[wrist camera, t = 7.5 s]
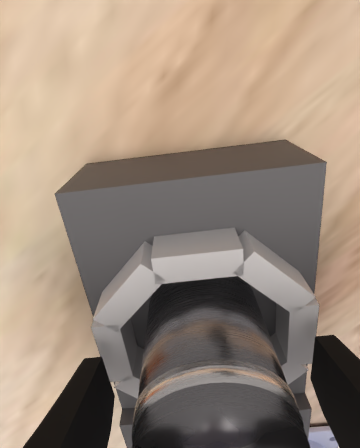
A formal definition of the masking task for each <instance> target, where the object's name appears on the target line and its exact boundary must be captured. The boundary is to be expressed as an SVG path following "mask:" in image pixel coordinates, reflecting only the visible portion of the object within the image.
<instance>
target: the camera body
mask: <svg viewBox="0 0 360 448" xmlns="http://www.w3.org/2000/svg"><path fill="white" fill-rule="evenodd" d="M326 163H327V162H325V161H324V160H322V159H320V158H318V157H316V156H314V155H313V154H311V153H309V152H307V151H305V150H303V149H302V148H300V147H298V146H296V145H294V144H292V143H291V142H289V141H287V140H281V141H273V142H264V143H256V144H248V145H239V146H231V147H223V148H214V149H206V150H198V151H190V152H181V153H173V154H165V155H156V156H148V157H140V158H132V159H123V160H115V161H107V162H98V163H90V164H86V165H85V166H84V167H83V168H82V169H81V170H80V171H79V172H77V173H76V174H75V175H74V176H73V177H72V178H71V179H70V180H69V181H68V182H67V183H66V184H65V185H64V186H63V187H62V188H60V189H59V190H58V191H57V192H56V193H55V197H56V200H57V203H58V206H59V209H60V212H61V216H62V219H63V222H64V225H65V228H66V232H67V235H68V238H69V241H70V244H71V247H72V251H73V254H74V257H75V260H76V263H77V266H78V270H79V273H80V276H81V279H82V282H83V286H84V289H85V292H86V295H87V298H88V301H89V305H90V308H91V311H92V314H93V323H92V326H91V329H92V332H93V335H94V338H95V341H96V344H97V347H98V350H99V353H100V356H101V357H102V359H103V362H104V365H105V368H106V371H107V374H108V377H109V380H110V382H114V384H115V387H114V388H116V390H117V394H118V397H119V400H120V403H121V406H122V414H121V420H120V428H121V431H122V434H123V437H124V440H125V443H126V446H127V448H132V426H133V418H134V410H135V406H136V402H137V400H138V392H139V384H140V376H141V367H142V359H143V351H144V342H145V334H146V326H147V317H148V309H149V303H150V298H151V296H152V294H153V293H154V292H155V291H156V290H157V289H158V288H159V286H160V285H161V284H165V283H175V282H185V281H194V280H204V279H214V278H223V277H233V276H238V277H240V278H241V279H243V280H244V281H245V282H247V283H248V284H249V285H250V287H251V288H252V290H253V292H254V294H255V297H256V300H257V302H258V305H259V308H260V311H261V313H262V316H263V319H264V322H265V324H266V327H267V330H268V332H269V335H270V338H271V341H272V343H273V346H274V349H275V352H276V354H277V357H278V360H279V362H280V365H281V368H282V371H283V373H284V376H285V379H286V382H287V384H288V386H289V388H290V389H291V391H292V393H293V395H294V398H295V401H296V403H297V406H298V409H299V411H300V414H301V417H302V420H303V424H304V431H305V433H306V436H307V439H308V436H309V427H310V418H311V407H310V404H309V402H308V399H307V397H306V394H305V385H306V375H307V371H308V368H307V364H312V361H313V351H314V341H315V337H316V331H317V322H318V312H319V303H318V302H317V300H316V299H315V295H314V290H315V280H316V269H317V258H318V248H319V237H320V227H321V216H322V205H323V195H324V184H325V174H326Z"/></svg>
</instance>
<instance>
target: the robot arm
mask: <svg viewBox="0 0 360 448" xmlns="http://www.w3.org/2000/svg"><path fill="white" fill-rule="evenodd" d="M311 381H312V384H313V387H314V390H315V392H316V395H317V398H318V401H319V404H320V406H321V409H322V412H323V414H324V416H325V418H326V420H327V422H328V424H329V426H320V427H309V436H308V441H309V444H310V448H338V445H339V447H340V448H360V359H359V358H358V357H357V356H356V355H355V354H353V353H352V352H351V351H350V350H349V349H348V348H347V347H346V346H345V345H344V344H343V343H342V342H341V341H340V340H339V339H338V338H337V337H336V336H334V335H328V336H317V337H315V341H314V351H313V361H312V370H311ZM114 397H115V396H114V393H113V390H112V386H111V383H110V380H109V377H108V374H107V371H106V368H105V365H104V362H103V359H102V357H96V358H85V359H84V360H83V361H82V362H81V364H80V365H79V367H78V368H77V370H76V372H75V373H74V375H73V376H72V378H71V379H70V381H69V382H68V384H67V385H66V387H65V388H64V390H63V391H62V393H61V394H60V396H59V397H58V399H57V400H56V402H55V403H54V405H53V406H52V408H51V409H50V411H49V412H48V413H47V415H46V416H45V418H44V419H43V421H42V422H41V423H40V425H39V426H38V428H37V429H36V430H35V432H34V433H33V434H32V436H31V437H30V438H29V440H28V441H27V442H26V444H25V445H24V446H23V448H107V446H108V441H109V436H110V431H111V424H112V416H113V407H114Z"/></svg>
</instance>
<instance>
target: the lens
mask: <svg viewBox="0 0 360 448" xmlns="http://www.w3.org/2000/svg"><path fill="white" fill-rule="evenodd" d="M132 448H310V444H309V441H308V439H307V436H306V433H305V431H304V424H303V420H302V417H301V414H300V411H299V409H298V406H297V403H296V401H295V398H294V395H293V393H292V391H291V389H290V388H289V386H288V384H287V382H286V379H285V376H284V373H283V371H282V368H281V365H280V362H279V360H278V357H277V354H276V352H275V349H274V346H273V343H272V341H271V338H270V335H269V332H268V330H267V327H266V324H265V322H264V319H263V316H262V313H261V311H260V308H259V305H258V302H257V300H256V297H255V294H254V292H253V290H252V288H251V287H250V285H249V284H248V283H247V282H245V281H244V280H243V279H241V278H240V277H238V276H233V277H223V278H214V279H204V280H194V281H185V282H175V283H165V284H161V285H160V286H159V288H158V289H157V290H156V291H155V292H154V293H153V294H152V296H151V298H150V303H149V309H148V317H147V326H146V334H145V342H144V351H143V359H142V367H141V376H140V384H139V392H138V400H137V402H136V406H135V410H134V418H133V426H132Z"/></svg>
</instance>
